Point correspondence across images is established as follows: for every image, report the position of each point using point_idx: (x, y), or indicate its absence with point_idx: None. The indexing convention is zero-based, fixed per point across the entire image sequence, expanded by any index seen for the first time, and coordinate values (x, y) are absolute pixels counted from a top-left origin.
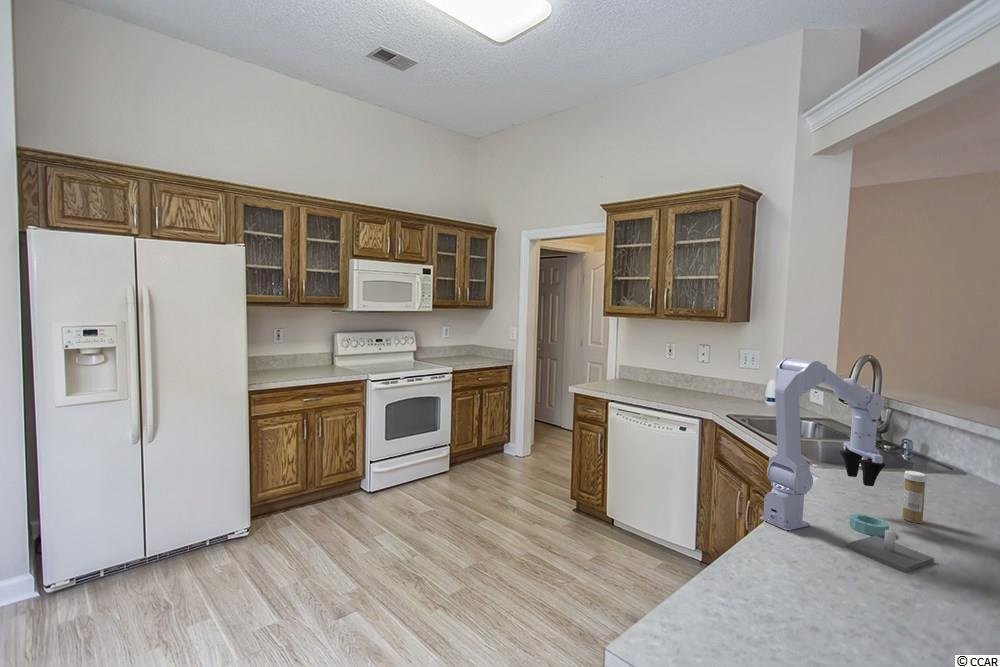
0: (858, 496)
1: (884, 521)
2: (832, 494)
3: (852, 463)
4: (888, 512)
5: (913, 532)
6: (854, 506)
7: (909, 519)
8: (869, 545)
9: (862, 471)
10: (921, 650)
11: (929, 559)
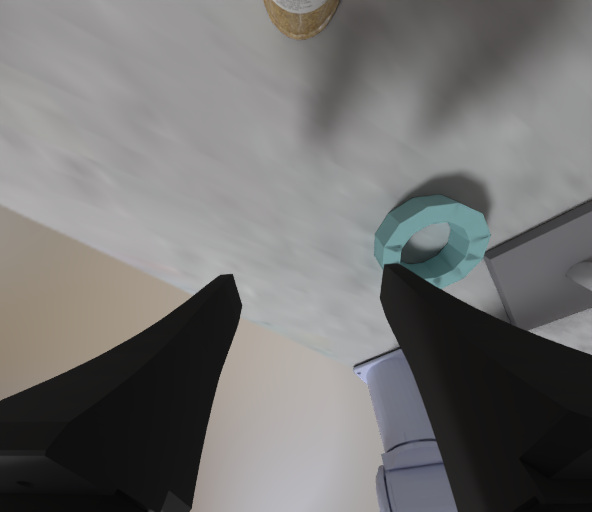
0: (73, 114)
1: (445, 209)
2: (125, 214)
3: (202, 365)
4: (231, 70)
5: (439, 86)
6: (223, 191)
7: (328, 19)
8: (541, 298)
9: (417, 383)
10: None
11: None
